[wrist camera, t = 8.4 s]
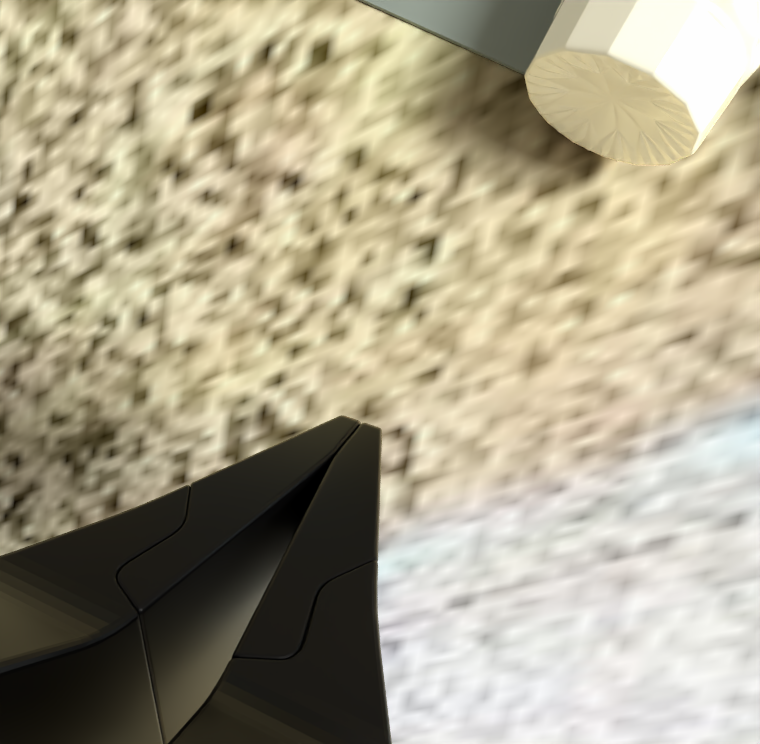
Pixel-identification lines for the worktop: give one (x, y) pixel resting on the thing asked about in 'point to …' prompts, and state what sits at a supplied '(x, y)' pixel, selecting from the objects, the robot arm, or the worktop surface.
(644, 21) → the white cup
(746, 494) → the worktop surface
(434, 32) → the mat
